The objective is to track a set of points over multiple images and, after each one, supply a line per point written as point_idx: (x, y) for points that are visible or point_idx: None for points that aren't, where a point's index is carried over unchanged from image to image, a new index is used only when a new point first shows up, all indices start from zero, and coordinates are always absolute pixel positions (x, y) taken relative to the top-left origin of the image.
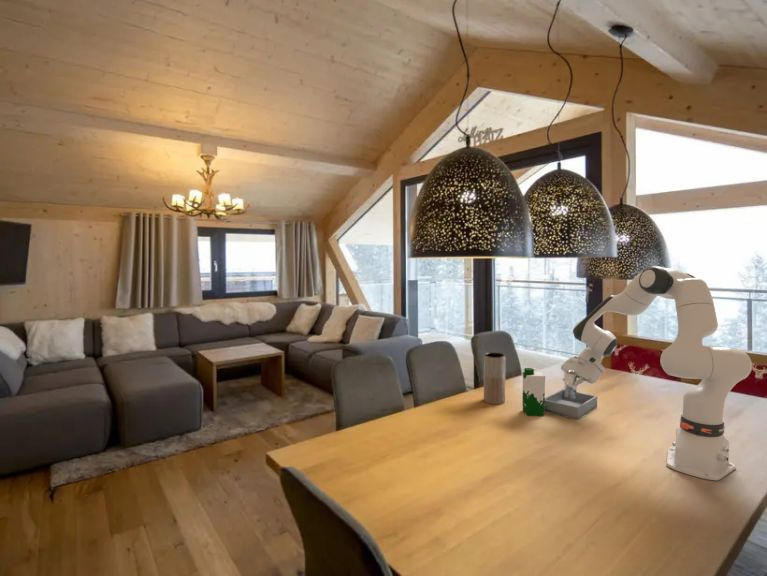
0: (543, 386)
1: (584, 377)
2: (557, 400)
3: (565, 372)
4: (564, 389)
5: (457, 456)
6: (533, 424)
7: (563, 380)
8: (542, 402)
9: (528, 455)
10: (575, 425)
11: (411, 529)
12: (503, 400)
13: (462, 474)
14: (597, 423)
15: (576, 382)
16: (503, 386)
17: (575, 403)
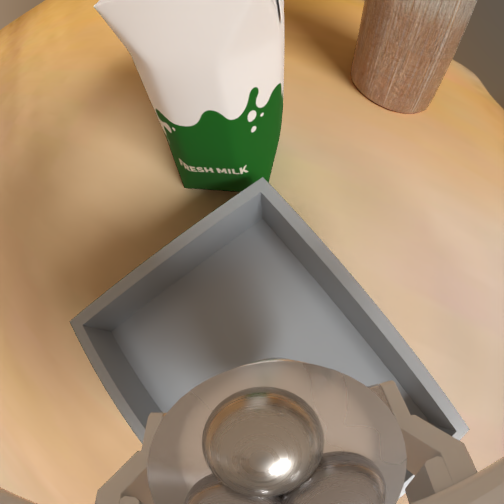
0: (138, 67)
1: (23, 501)
2: (382, 359)
3: (342, 398)
4: (285, 358)
5: (76, 17)
6: (120, 125)
7: (377, 385)
8: (166, 137)
9: (14, 94)
10: (58, 276)
11: (13, 25)
12: (368, 88)
13: (39, 31)
14: (58, 390)
15: (144, 449)
16: (381, 37)
17: None
